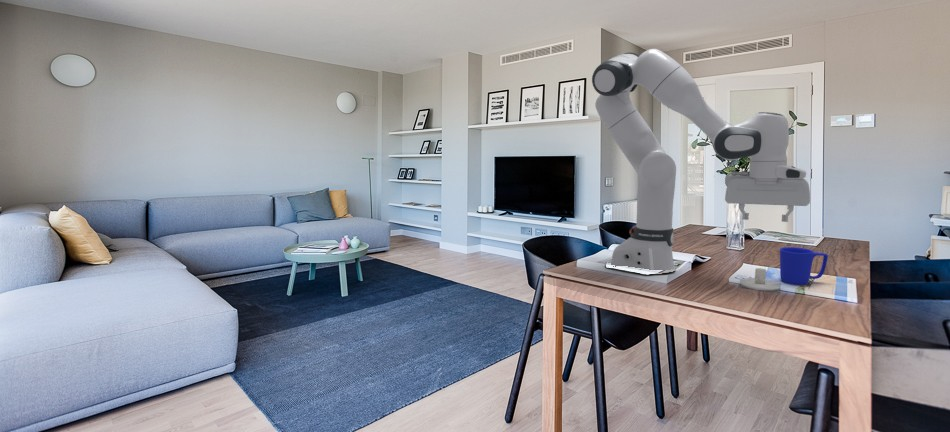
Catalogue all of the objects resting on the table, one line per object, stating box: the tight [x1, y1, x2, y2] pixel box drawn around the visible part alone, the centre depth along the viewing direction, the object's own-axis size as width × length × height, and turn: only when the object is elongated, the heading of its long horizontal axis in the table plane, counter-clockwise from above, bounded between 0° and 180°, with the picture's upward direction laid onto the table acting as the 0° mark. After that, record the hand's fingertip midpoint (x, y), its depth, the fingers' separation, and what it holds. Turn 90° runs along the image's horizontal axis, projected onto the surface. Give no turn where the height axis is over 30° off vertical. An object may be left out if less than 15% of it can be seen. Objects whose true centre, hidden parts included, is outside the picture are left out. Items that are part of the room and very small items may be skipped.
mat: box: [738, 283, 782, 294], centre depth 133 cm, size 10×10×1 cm
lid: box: [739, 268, 782, 292], centre depth 133 cm, size 10×10×5 cm
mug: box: [779, 246, 829, 286], centre depth 135 cm, size 8×12×10 cm
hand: (764, 220), depth 130 cm, fingers open, 8 cm apart
